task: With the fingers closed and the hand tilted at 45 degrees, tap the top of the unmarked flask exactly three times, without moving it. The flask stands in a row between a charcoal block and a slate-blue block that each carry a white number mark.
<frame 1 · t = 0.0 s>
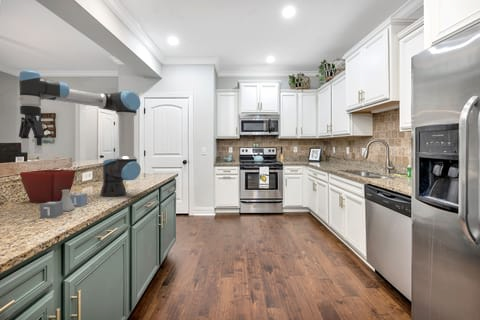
hand: (31, 152, 124), 28 cm above the worktop, tool pointing down, fingers open, 13 cm apart
plant pot: (49, 200, 155), on the worktop
slate-blue marked block: (78, 205, 142), on the worktop
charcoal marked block: (51, 216, 120), on the worktop
flask: (66, 210, 131), on the worktop
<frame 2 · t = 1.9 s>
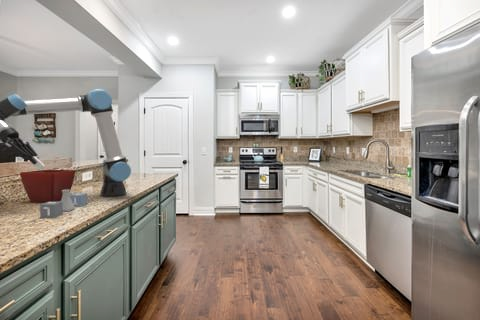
hand: (42, 168, 129), 21 cm above the worktop, tool tilted 45°, fingers closed
nothing on the worktop moved.
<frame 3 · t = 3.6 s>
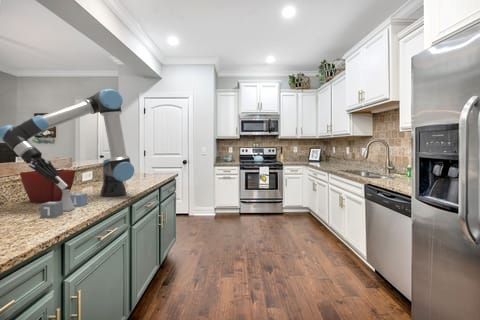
hand: (64, 187, 131), 11 cm above the worktop, tool tilted 45°, fingers closed
flask: (66, 210, 131), on the worktop, touching gripper
everything else where it was.
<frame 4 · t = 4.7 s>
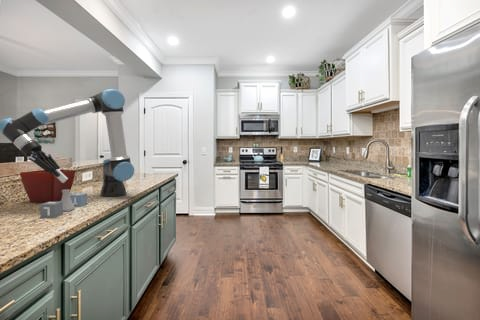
hand: (65, 180, 131), 14 cm above the worktop, tool tilted 45°, fingers closed
flask: (66, 210, 131), on the worktop
everything else where it was.
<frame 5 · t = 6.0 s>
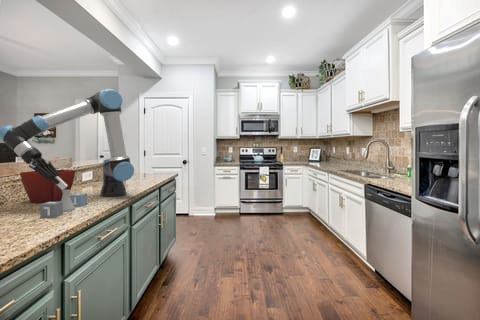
hand: (65, 187, 131), 11 cm above the worktop, tool tilted 45°, fingers closed
flask: (66, 210, 131), on the worktop, touching gripper
everything else where it was.
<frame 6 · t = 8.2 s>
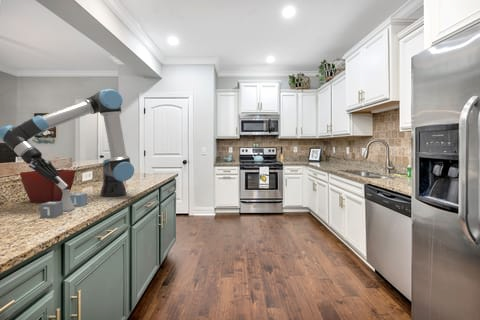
hand: (65, 187, 131), 11 cm above the worktop, tool tilted 45°, fingers closed
nothing on the worktop moved.
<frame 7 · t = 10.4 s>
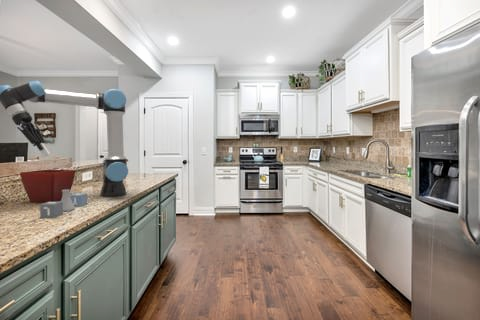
hand: (47, 155, 137), 26 cm above the worktop, tool tilted 30°, fingers closed
flask: (66, 210, 131), on the worktop
everything else where it was.
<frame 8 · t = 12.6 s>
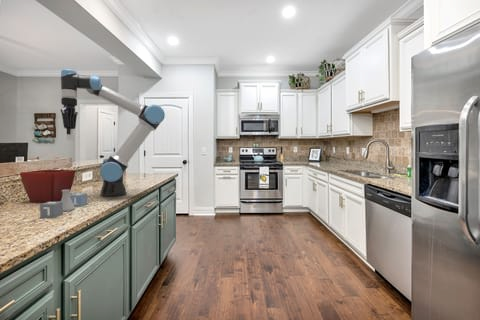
hand: (69, 140, 152), 34 cm above the worktop, tool pointing down, fingers closed
nothing on the worktop moved.
at the end: flask moved 0.3 cm from its start; flask tilted 0°; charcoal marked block moved 0.1 cm from its start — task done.
